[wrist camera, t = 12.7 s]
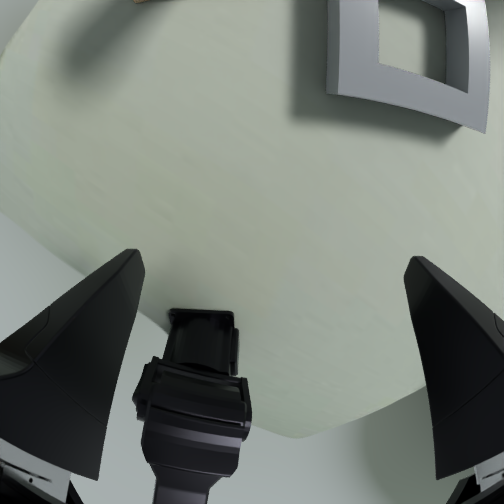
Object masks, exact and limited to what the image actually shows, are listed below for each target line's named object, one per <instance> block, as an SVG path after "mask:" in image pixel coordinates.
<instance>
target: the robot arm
mask: <svg viewBox="0 0 504 504" xmlns="http://www.w3.org/2000/svg"><path fill="white" fill-rule="evenodd" d="M144 277H145V268H144V264H143V261H142V257H141V254H140V251H139V250H138V249H126V250H124V251H123V252H121V253H120V254H118V255H117V256H115V257H114V258H113V259H111V260H110V261H108V262H107V263H105V264H104V265H103V266H101V267H100V268H98V269H97V270H96V271H94V272H93V273H91V274H90V275H89V276H87V277H86V278H85V279H84V280H82V281H81V282H79V283H78V284H77V285H75V286H74V287H73V288H71V289H70V290H69V291H68V292H66V293H65V294H63V295H62V296H61V297H60V298H58V299H57V300H56V301H54V302H53V303H52V304H51V305H50V306H48V307H47V308H45V309H44V310H43V311H42V312H40V313H39V314H38V315H37V316H35V317H34V318H33V319H32V320H30V321H29V322H28V323H26V324H25V325H24V326H22V327H21V328H19V329H18V330H17V331H15V332H14V333H13V334H11V335H10V336H9V337H7V338H6V339H5V340H3V341H2V342H1V343H0V504H84V503H83V502H82V500H81V498H80V497H79V495H78V493H77V492H76V490H75V488H74V486H73V484H72V483H71V481H70V476H71V472H72V473H75V474H78V475H81V476H84V477H86V478H90V479H93V480H96V481H97V480H98V477H99V470H100V464H101V456H102V451H103V444H104V440H105V435H106V429H107V423H108V419H109V414H110V409H111V405H112V401H113V396H114V392H115V388H116V384H117V380H118V376H119V372H120V368H121V365H122V361H123V357H124V354H125V350H126V347H127V343H128V340H129V337H130V333H131V330H132V326H133V323H134V320H135V317H136V313H137V309H138V304H139V299H140V295H141V290H142V286H143V281H144ZM404 284H405V289H406V294H407V299H408V304H409V310H410V315H411V320H412V324H413V328H414V332H415V336H416V339H417V344H418V348H419V352H420V356H421V361H422V366H423V371H424V376H425V381H426V386H427V392H428V398H429V405H430V412H431V419H432V426H433V428H432V429H433V439H434V451H435V469H436V480H439V479H442V478H445V477H448V476H451V475H453V474H456V473H459V472H461V471H464V470H466V469H468V468H471V467H473V466H474V468H475V473H473V474H471V475H469V476H467V477H465V478H463V479H461V480H460V481H459V482H458V484H457V486H456V488H455V490H454V492H453V493H452V495H451V497H450V498H449V500H448V501H447V503H446V504H504V321H503V320H502V319H501V318H500V317H499V316H497V315H496V314H495V313H493V311H492V310H491V309H489V308H488V307H487V306H486V305H485V304H484V303H482V302H481V301H480V300H479V299H478V298H476V297H475V296H474V295H473V294H472V293H470V292H469V291H468V290H467V289H465V288H464V287H463V286H462V285H460V284H459V283H458V282H457V281H455V280H454V279H453V278H452V277H450V276H449V275H448V274H446V273H445V272H444V271H442V270H441V269H440V268H438V267H437V266H436V265H434V264H433V263H432V262H430V261H429V260H428V259H426V258H425V257H423V256H413V257H412V258H411V259H410V262H409V264H408V267H407V269H406V271H405V274H404ZM173 313H174V314H173ZM169 318H170V322H171V329H170V333H169V336H168V340H167V344H166V347H165V351H164V355H163V358H162V359H159V357H156V356H153V358H152V361H151V362H149V363H148V364H145V366H144V369H143V373H142V376H141V379H140V381H139V383H138V385H137V387H136V389H135V392H134V393H133V397H132V401H133V402H134V404H135V406H136V411H137V420H140V421H143V422H144V427H143V432H142V438H141V446H142V451H143V454H144V456H145V459H146V461H147V463H149V464H150V466H151V468H152V470H153V472H154V474H155V476H156V482H155V488H154V495H153V502H152V504H207V501H208V495H209V489H210V488H211V487H212V486H213V485H214V484H215V483H216V482H217V481H218V480H219V479H220V478H222V477H230V476H231V475H232V474H233V473H234V472H235V470H236V469H237V467H238V460H239V451H240V446H241V442H243V441H245V440H246V438H247V436H248V434H249V431H250V427H251V421H252V407H251V401H250V395H249V388H248V381H247V378H243V377H241V378H238V377H233V376H236V375H237V374H238V361H239V330H238V329H237V328H235V327H234V313H233V312H231V311H213V310H190V309H170V310H169Z"/></svg>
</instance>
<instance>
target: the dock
mask: <svg viewBox="0 0 504 504" xmlns="http://www.w3.org/2000/svg"><path fill="white" fill-rule="evenodd" d="M421 1H424V2H426V3H428V4H430V5H433V6H435V7H437V8H439V9H441V10H443V11H444V13H445V27H446V83H445V84H443V83H441V82H438V81H435V80H432V79H430V78H427V77H424V76H421V75H418V74H415V73H412V72H409V71H405V70H402V69H398V68H395V67H391V66H388V65H384V64H380V63H379V13H378V0H327V20H328V29H327V75H326V93H327V94H335V95H342V96H349V97H355V98H361V99H366V100H371V101H376V102H381V103H386V104H390V105H395V106H399V107H403V108H407V109H411V110H415V111H418V112H422V113H426V114H429V115H432V116H436V117H439V118H442V119H445V120H448V121H451V122H454V123H457V124H460V125H462V126H465V127H468V128H471V129H474V130H477V131H479V132H482V133H485V132H486V125H487V116H488V106H489V92H490V43H489V30H488V20H487V12H486V5H485V0H421Z"/></svg>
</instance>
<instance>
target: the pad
mask: <svg viewBox="0 0 504 504" xmlns="http://www.w3.org/2000/svg"><path fill="white" fill-rule="evenodd" d="M133 1H134V2H135V3H140V2H144V1H148V0H133Z"/></svg>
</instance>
